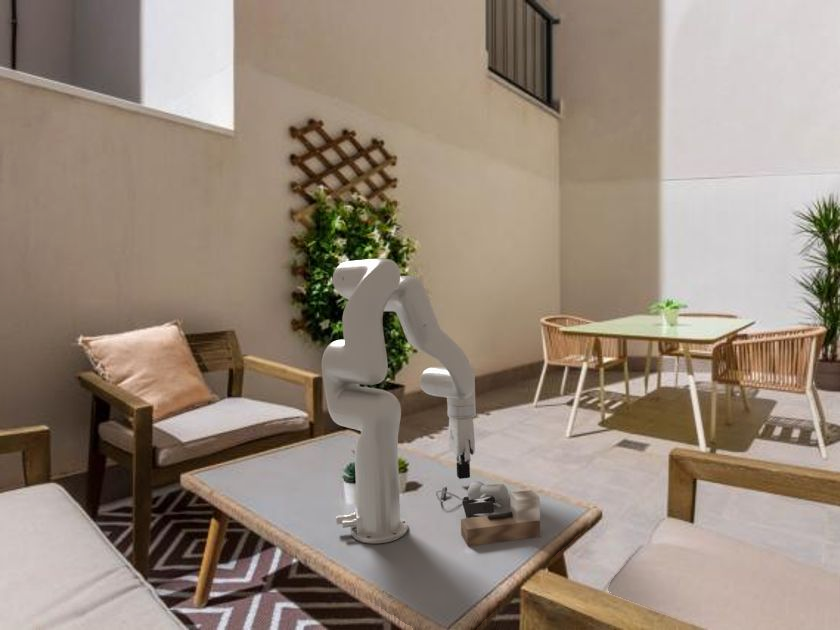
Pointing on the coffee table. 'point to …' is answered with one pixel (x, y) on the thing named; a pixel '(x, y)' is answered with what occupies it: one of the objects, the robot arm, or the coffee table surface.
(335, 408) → the robot arm
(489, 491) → the clip-on lamp
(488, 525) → the charging dock
